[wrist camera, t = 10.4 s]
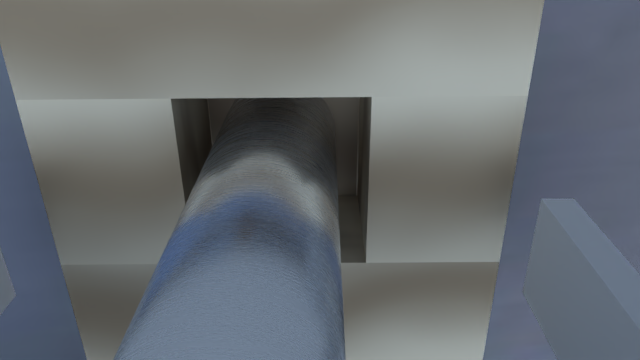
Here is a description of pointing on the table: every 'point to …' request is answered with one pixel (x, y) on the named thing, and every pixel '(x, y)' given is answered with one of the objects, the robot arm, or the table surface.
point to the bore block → (283, 82)
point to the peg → (252, 247)
